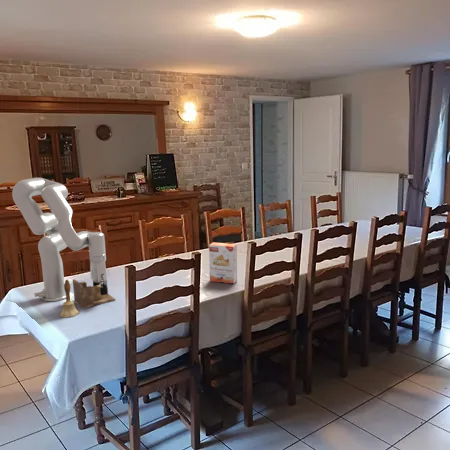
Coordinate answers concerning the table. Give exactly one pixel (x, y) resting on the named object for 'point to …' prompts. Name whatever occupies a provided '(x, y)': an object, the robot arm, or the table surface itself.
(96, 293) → the tan wooden block
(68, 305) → the hand bell
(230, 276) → the cracker box
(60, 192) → the robot arm
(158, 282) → the table surface
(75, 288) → the brown wooden angled piece
